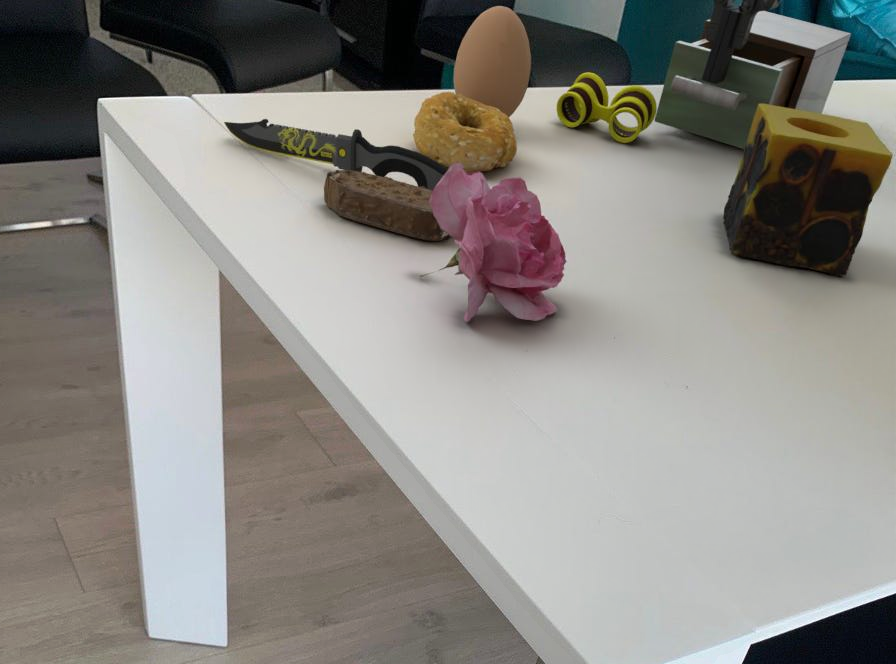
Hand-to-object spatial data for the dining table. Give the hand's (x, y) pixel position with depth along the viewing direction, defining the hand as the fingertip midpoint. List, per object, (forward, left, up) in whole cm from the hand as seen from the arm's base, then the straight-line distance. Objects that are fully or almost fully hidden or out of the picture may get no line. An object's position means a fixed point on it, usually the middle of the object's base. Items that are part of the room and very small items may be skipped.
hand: (712, 80), depth 106 cm
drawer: (0, -7, -6) cm, 9 cm away
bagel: (+14, +26, -7) cm, 30 cm away
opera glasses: (+9, +4, -7) cm, 12 cm away
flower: (-4, +52, -7) cm, 53 cm away
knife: (+18, +40, -7) cm, 45 cm away
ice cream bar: (+8, +45, -7) cm, 46 cm away
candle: (-16, +21, -7) cm, 28 cm away
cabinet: (0, -20, -7) cm, 21 cm away
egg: (+18, +15, -7) cm, 24 cm away
